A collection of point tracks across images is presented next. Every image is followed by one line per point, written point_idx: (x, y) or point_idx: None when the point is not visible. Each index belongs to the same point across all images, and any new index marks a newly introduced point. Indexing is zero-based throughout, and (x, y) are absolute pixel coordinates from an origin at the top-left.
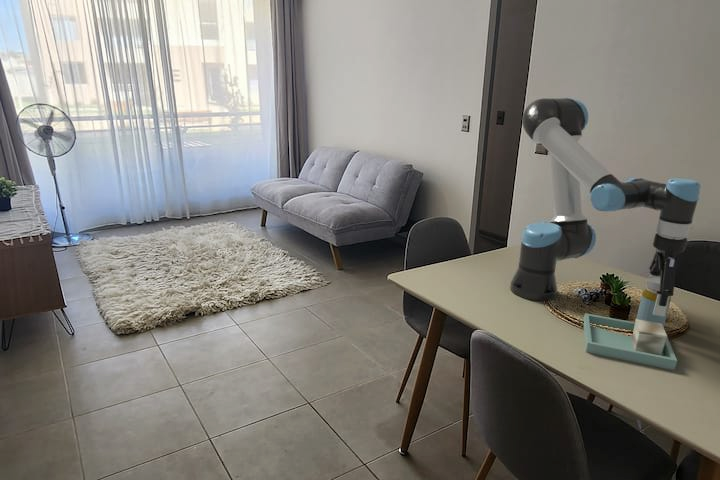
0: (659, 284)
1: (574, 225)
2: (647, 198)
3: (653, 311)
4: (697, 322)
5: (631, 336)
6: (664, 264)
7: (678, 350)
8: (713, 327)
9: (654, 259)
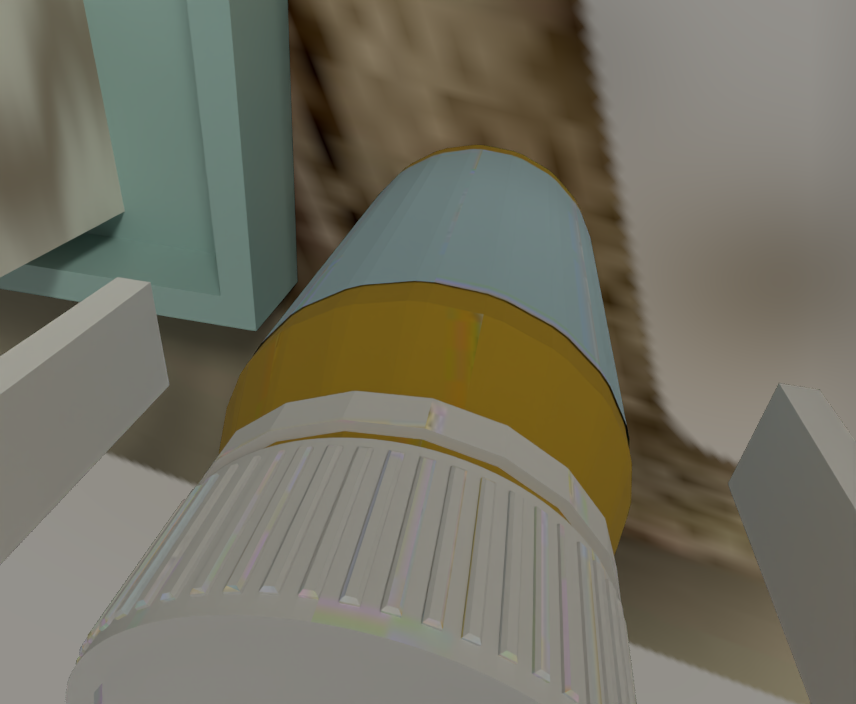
0: (68, 692)
1: None
2: None
3: (126, 295)
4: (654, 590)
5: (139, 12)
6: None
7: (171, 340)
8: None
9: None
